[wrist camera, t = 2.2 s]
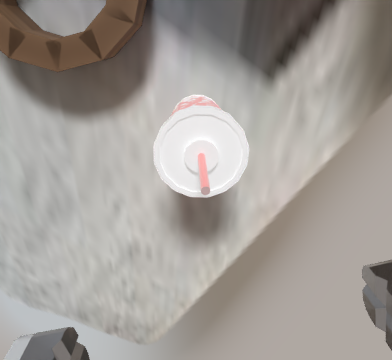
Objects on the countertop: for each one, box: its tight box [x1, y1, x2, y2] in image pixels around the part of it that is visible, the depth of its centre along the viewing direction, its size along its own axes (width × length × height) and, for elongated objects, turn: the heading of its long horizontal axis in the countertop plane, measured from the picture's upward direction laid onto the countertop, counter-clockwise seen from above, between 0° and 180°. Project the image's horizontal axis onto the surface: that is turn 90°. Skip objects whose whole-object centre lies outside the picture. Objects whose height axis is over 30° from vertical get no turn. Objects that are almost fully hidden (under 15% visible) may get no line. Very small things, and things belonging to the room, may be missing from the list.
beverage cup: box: [154, 95, 249, 197], centre depth 22 cm, size 6×6×14 cm
